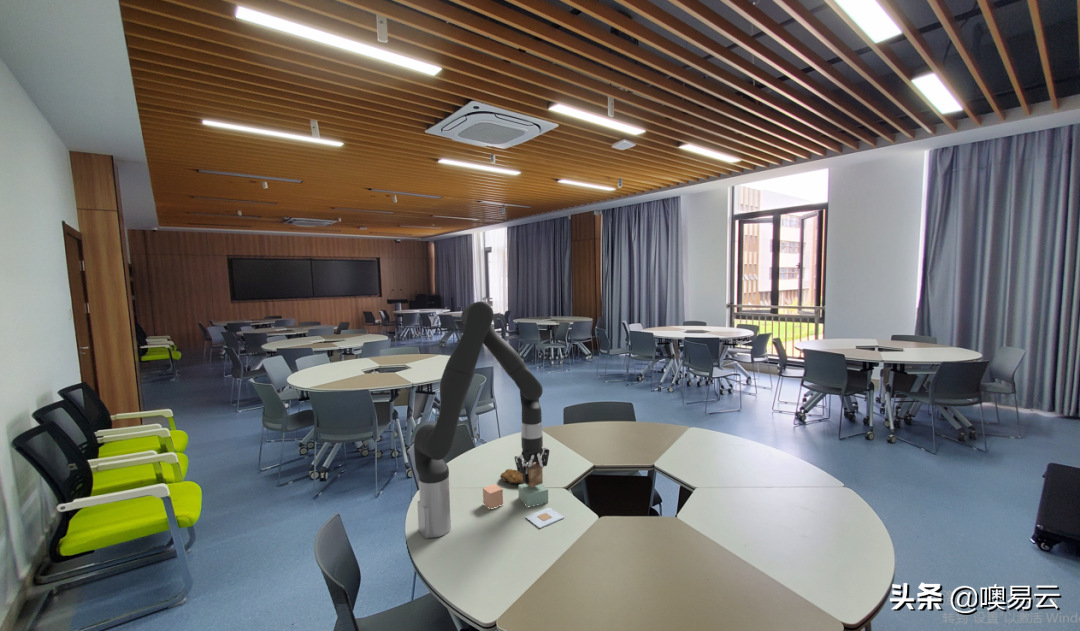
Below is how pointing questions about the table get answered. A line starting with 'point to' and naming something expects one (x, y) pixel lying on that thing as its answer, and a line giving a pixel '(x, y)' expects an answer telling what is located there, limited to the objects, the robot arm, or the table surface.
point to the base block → (533, 494)
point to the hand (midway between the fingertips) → (532, 480)
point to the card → (544, 517)
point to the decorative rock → (512, 476)
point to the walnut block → (535, 475)
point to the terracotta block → (492, 496)
